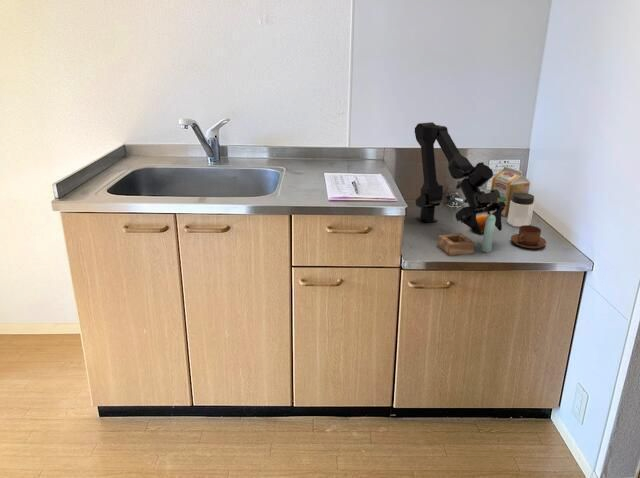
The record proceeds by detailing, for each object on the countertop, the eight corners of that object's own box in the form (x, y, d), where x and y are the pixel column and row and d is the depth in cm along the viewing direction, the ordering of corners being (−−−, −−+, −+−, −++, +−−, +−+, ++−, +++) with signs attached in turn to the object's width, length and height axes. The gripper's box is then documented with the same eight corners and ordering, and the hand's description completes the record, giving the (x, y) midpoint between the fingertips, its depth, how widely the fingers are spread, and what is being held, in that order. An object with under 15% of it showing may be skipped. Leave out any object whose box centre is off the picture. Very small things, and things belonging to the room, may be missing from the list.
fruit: (481, 234, 186) (477, 213, 187) (470, 237, 193) (466, 217, 194) (500, 232, 188) (496, 211, 189) (488, 235, 195) (484, 215, 196)
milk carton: (524, 214, 211) (532, 170, 203) (504, 217, 207) (511, 173, 200) (507, 206, 220) (514, 164, 212) (488, 209, 216) (494, 167, 209)
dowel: (479, 249, 176) (484, 213, 171) (487, 248, 177) (492, 212, 172) (484, 252, 173) (490, 216, 168) (492, 251, 174) (498, 215, 169)
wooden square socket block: (437, 245, 179) (438, 235, 178) (459, 243, 181) (461, 233, 180) (450, 255, 171) (451, 245, 170) (473, 252, 173) (474, 242, 172)
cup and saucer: (541, 253, 173) (545, 237, 171) (506, 246, 179) (509, 230, 177) (548, 242, 182) (551, 227, 180) (514, 236, 188) (516, 220, 186)
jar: (523, 229, 194) (528, 200, 190) (503, 223, 200) (508, 195, 195) (533, 223, 200) (538, 195, 195) (514, 218, 206) (518, 190, 201)
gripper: (464, 185, 166) (483, 226, 161) (506, 178, 173) (525, 217, 168) (447, 201, 175) (464, 240, 170) (487, 194, 183) (505, 231, 178)
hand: (490, 232), depth 172 cm, fingers open, 9 cm apart
